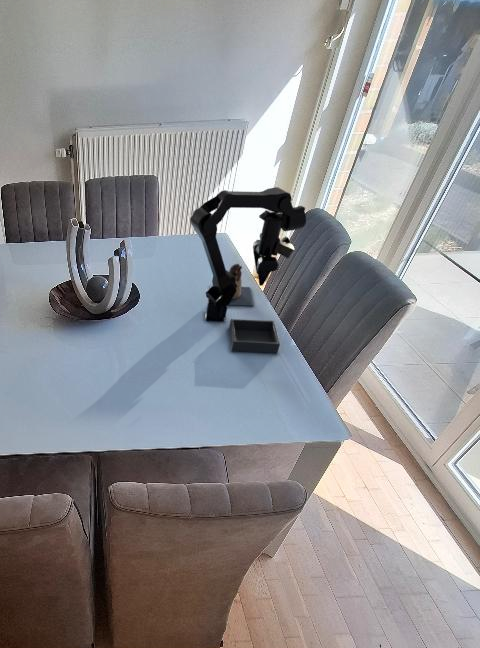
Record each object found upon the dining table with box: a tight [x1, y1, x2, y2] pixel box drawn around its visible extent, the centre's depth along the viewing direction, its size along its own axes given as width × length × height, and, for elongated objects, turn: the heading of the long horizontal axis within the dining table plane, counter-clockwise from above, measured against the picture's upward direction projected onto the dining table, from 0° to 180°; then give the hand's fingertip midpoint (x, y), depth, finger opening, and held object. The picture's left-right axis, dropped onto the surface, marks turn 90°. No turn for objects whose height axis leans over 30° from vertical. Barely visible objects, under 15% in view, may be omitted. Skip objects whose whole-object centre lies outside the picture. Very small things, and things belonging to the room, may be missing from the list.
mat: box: [228, 286, 254, 307], centre depth 178 cm, size 15×15×1 cm
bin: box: [228, 318, 281, 355], centre depth 154 cm, size 15×15×4 cm
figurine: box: [228, 263, 243, 299], centre depth 173 cm, size 7×7×12 cm
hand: (259, 279), depth 161 cm, fingers open, 9 cm apart
